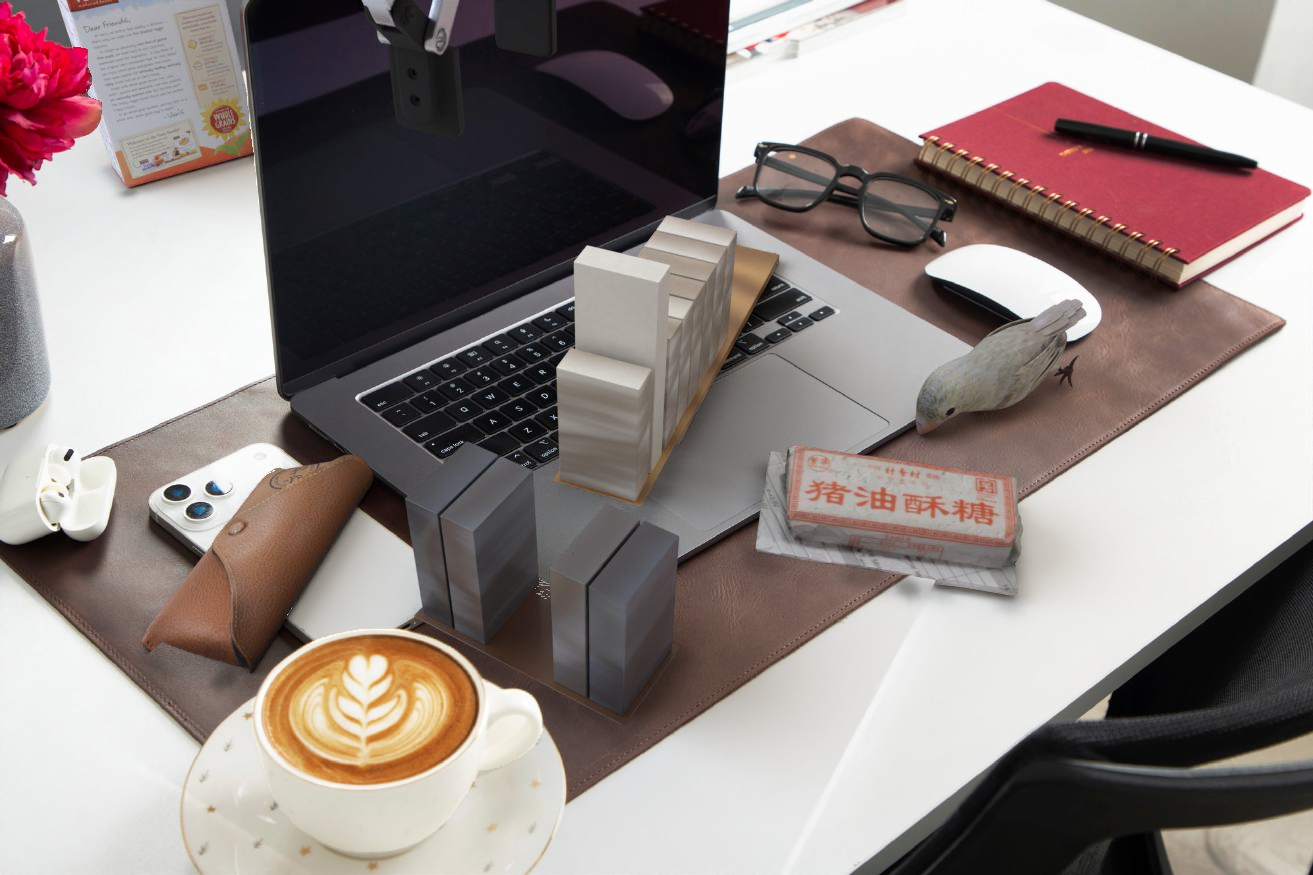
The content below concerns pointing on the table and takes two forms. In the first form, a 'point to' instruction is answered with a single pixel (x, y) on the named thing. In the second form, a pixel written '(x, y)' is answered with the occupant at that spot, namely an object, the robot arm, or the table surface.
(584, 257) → the cream book
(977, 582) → the packaged product
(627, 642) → the grey book rack
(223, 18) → the cracker box
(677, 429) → the cream book rack
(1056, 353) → the decorative bird
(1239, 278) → the table surface
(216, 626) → the sunglasses case
